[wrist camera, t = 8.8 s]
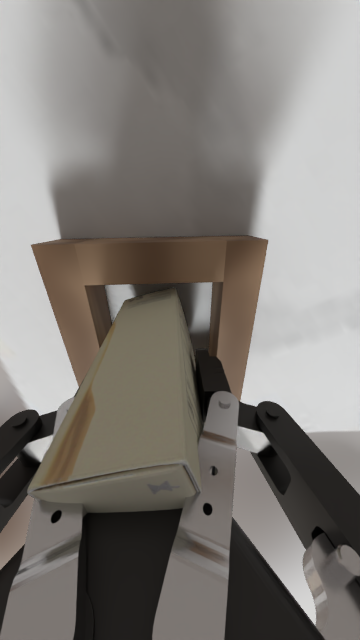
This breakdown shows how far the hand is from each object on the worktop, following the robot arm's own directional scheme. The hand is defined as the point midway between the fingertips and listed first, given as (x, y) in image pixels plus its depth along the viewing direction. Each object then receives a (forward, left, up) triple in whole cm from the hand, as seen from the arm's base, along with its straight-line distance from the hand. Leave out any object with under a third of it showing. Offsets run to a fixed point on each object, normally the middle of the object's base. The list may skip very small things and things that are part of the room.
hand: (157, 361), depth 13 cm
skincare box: (0, 0, -5) cm, 5 cm away
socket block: (0, 0, -6) cm, 6 cm away
